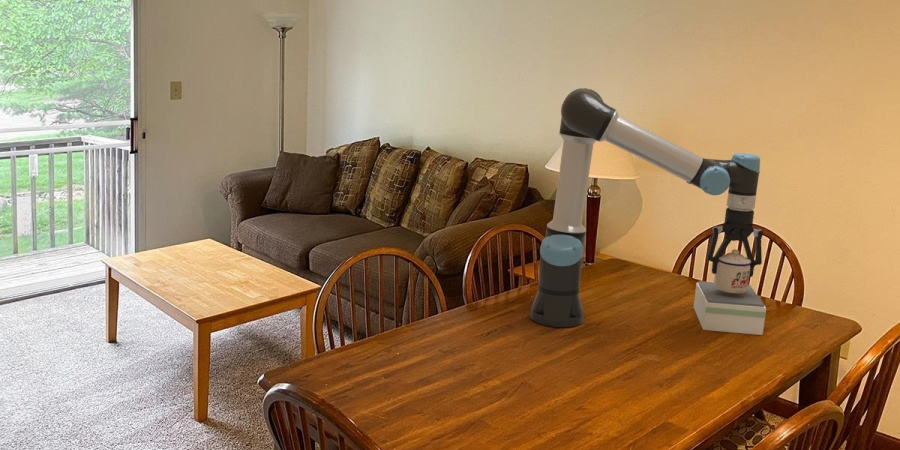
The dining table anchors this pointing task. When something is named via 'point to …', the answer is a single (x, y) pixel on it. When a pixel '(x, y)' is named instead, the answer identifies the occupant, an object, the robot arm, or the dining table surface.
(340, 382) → the dining table surface
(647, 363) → the dining table surface
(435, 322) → the dining table surface
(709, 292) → the stand
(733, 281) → the teacup with lid
